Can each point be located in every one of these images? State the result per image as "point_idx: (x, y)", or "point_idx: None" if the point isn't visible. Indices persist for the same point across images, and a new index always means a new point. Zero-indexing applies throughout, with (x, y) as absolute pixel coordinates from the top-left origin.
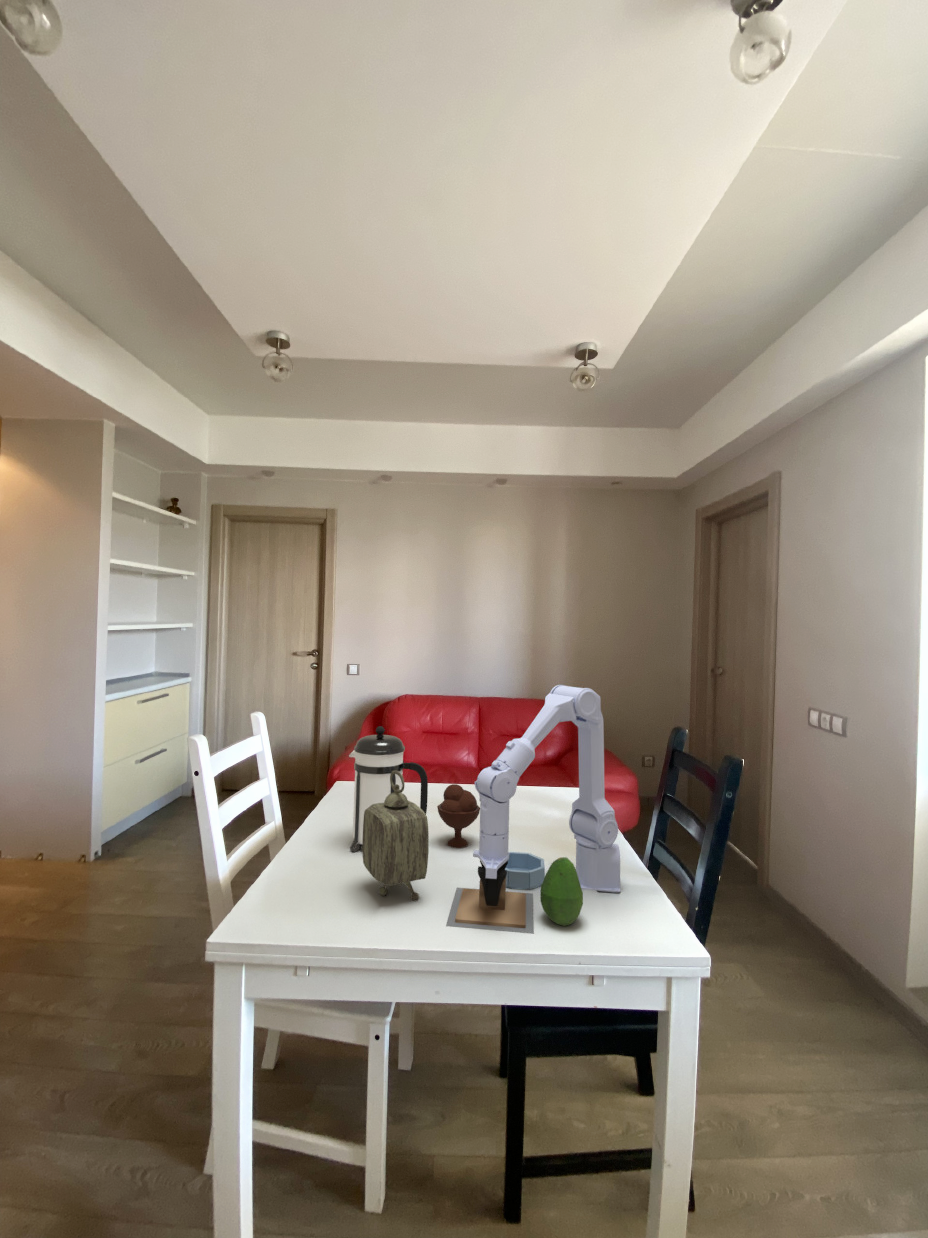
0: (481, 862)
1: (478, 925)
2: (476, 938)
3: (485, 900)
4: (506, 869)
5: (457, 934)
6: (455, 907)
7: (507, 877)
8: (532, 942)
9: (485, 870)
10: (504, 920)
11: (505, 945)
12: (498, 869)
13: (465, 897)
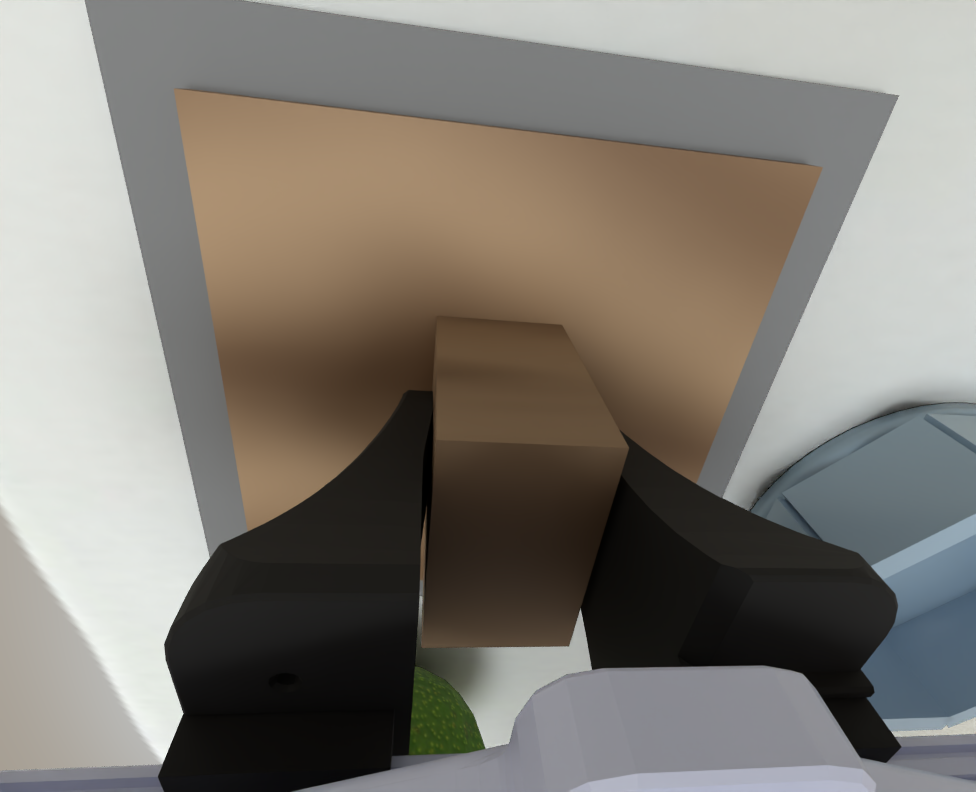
0: (712, 580)
1: (203, 306)
2: (47, 285)
3: (403, 402)
4: (881, 568)
5: (34, 118)
6: (486, 88)
7: (820, 535)
8: (152, 578)
9: (251, 694)
10: (279, 482)
11: (49, 462)
12: (615, 665)
13: (633, 195)
